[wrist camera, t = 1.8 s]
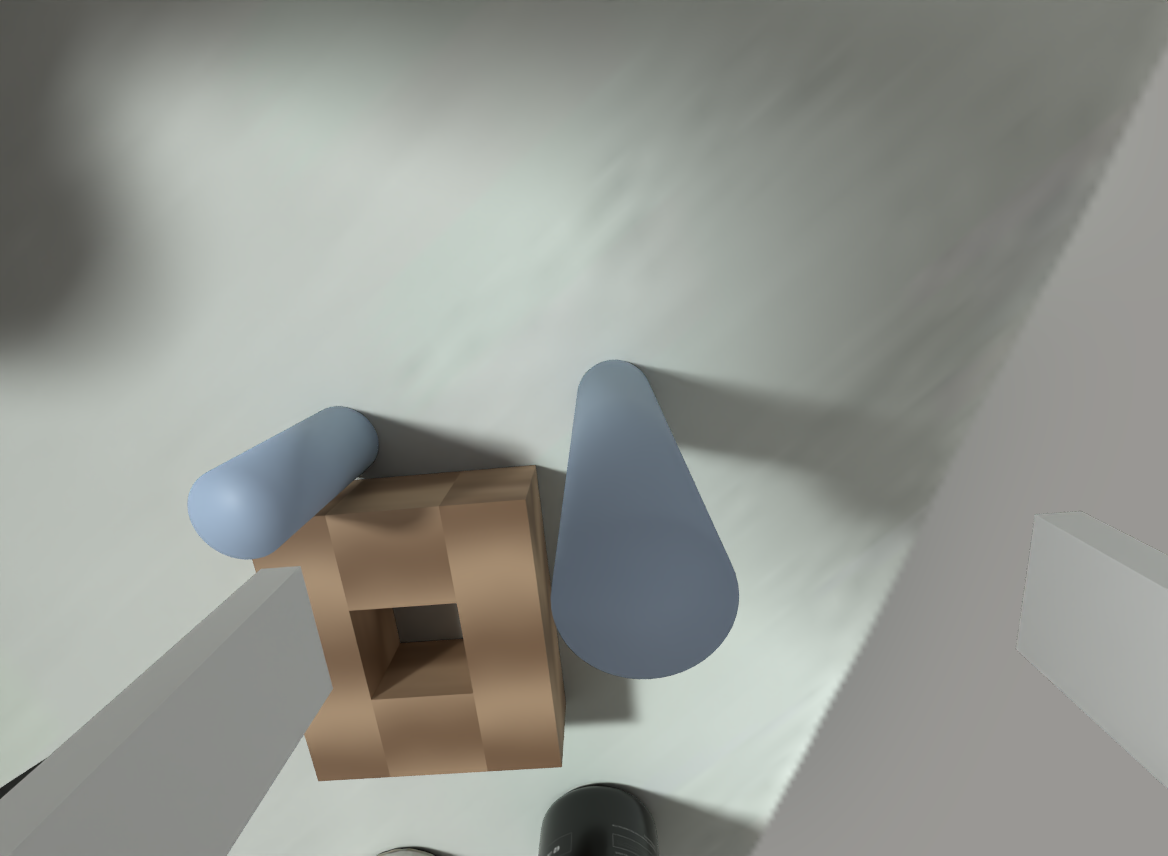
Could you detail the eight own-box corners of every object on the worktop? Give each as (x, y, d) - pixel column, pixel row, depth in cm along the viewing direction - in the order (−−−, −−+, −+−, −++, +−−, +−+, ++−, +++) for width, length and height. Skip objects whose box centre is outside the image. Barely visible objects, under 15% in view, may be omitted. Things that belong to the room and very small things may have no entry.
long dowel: (573, 363, 25) (540, 523, 10) (649, 356, 25) (737, 508, 9) (580, 435, 26) (560, 684, 11) (653, 428, 26) (740, 673, 10)
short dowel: (299, 409, 26) (174, 471, 18) (370, 403, 26) (274, 462, 18) (316, 477, 27) (204, 562, 19) (384, 471, 27) (299, 555, 19)
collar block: (291, 485, 27) (241, 522, 23) (535, 465, 26) (525, 499, 22) (352, 716, 31) (318, 781, 27) (565, 703, 30) (561, 766, 26)
